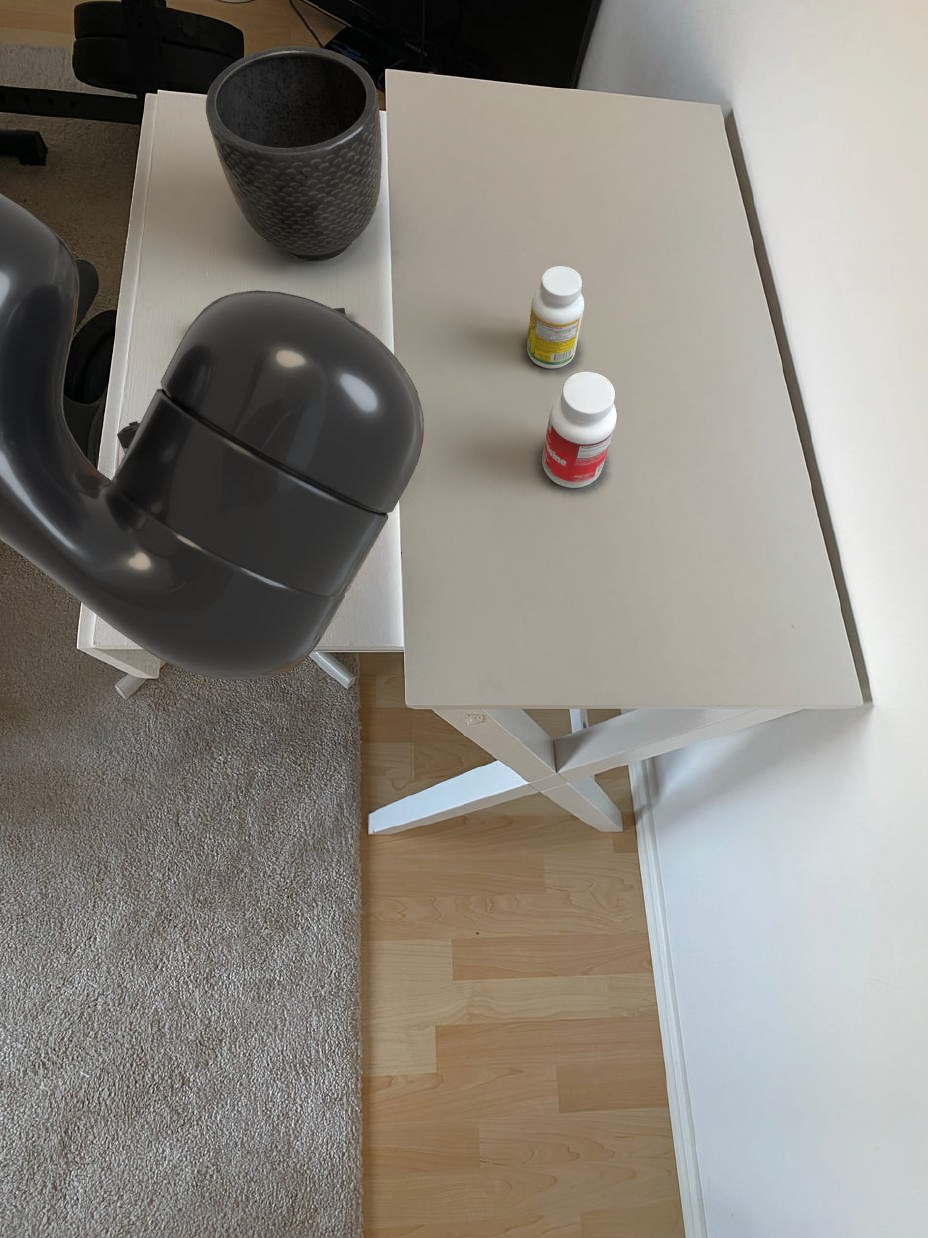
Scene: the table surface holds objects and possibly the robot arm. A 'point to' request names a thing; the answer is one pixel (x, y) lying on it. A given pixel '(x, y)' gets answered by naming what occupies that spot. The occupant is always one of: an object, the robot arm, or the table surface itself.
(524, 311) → the table surface
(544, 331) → the supplement bottle
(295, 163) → the planter
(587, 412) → the pill bottle
